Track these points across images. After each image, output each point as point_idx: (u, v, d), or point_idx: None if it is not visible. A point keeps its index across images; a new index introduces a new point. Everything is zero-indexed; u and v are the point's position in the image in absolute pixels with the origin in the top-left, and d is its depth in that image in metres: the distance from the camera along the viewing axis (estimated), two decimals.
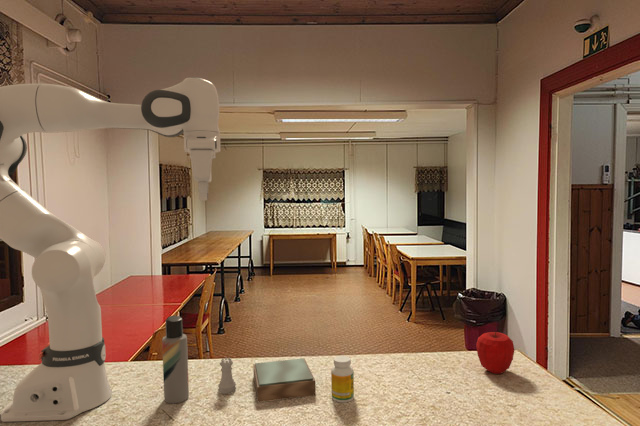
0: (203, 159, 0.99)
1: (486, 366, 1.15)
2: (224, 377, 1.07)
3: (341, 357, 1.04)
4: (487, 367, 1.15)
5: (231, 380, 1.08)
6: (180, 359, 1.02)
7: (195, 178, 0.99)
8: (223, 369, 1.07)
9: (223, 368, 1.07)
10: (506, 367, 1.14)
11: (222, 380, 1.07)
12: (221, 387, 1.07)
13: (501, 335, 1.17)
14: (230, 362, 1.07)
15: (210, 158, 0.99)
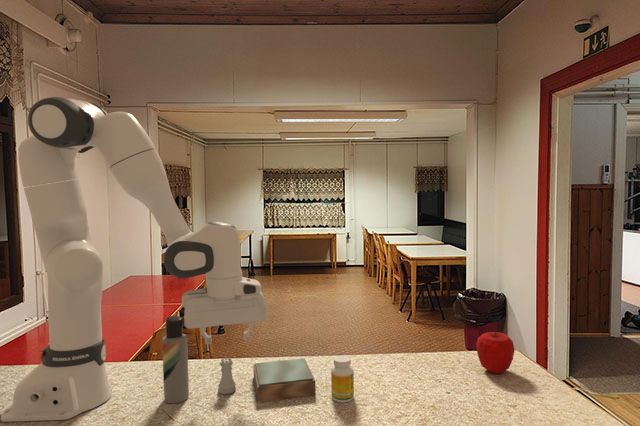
0: None
1: (486, 366, 1.15)
2: (224, 377, 1.07)
3: (341, 357, 1.04)
4: (487, 367, 1.15)
5: (231, 380, 1.08)
6: (180, 359, 1.02)
7: None
8: (223, 369, 1.07)
9: (223, 368, 1.07)
10: (506, 367, 1.14)
11: (222, 380, 1.07)
12: (221, 387, 1.07)
13: (501, 335, 1.17)
14: (230, 362, 1.07)
15: None
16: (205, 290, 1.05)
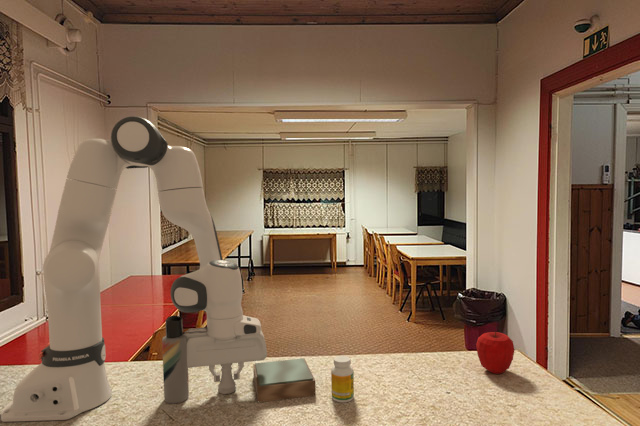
0: None
1: (486, 366, 1.15)
2: (224, 377, 1.07)
3: (341, 357, 1.04)
4: (487, 367, 1.15)
5: (231, 380, 1.08)
6: (180, 359, 1.02)
7: (265, 357, 1.09)
8: (223, 369, 1.07)
9: (223, 368, 1.07)
10: (506, 367, 1.14)
11: (222, 379, 1.07)
12: (221, 387, 1.07)
13: (501, 335, 1.17)
14: None
15: None
16: (206, 329, 1.06)
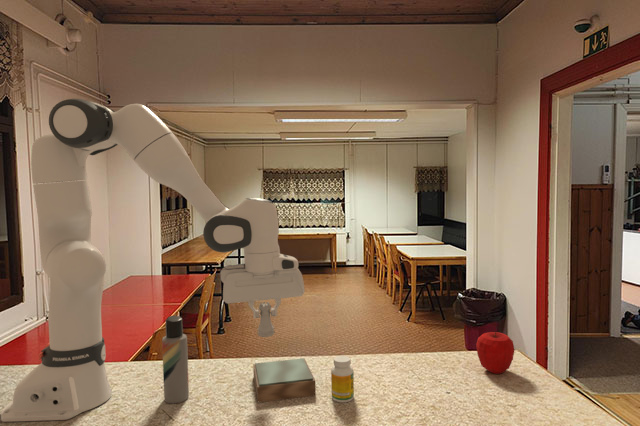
0: None
1: (486, 366, 1.15)
2: (263, 320, 1.08)
3: (341, 357, 1.04)
4: (487, 367, 1.15)
5: (270, 323, 1.09)
6: (180, 359, 1.02)
7: None
8: (262, 312, 1.08)
9: (262, 311, 1.08)
10: (506, 367, 1.14)
11: (261, 323, 1.08)
12: (261, 330, 1.08)
13: (501, 335, 1.17)
14: (269, 306, 1.09)
15: None
16: (243, 265, 1.06)
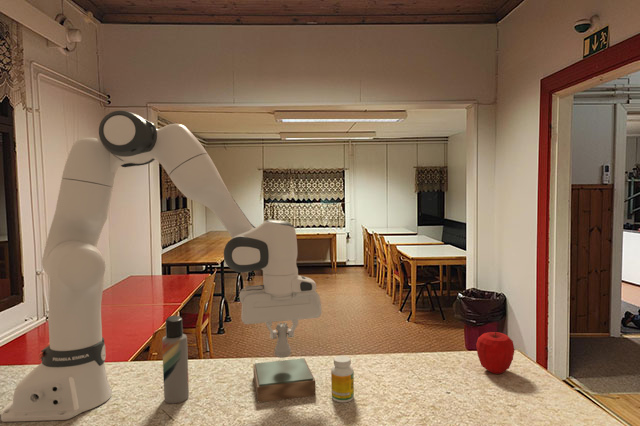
0: None
1: (486, 366, 1.15)
2: (280, 341, 1.09)
3: (341, 357, 1.04)
4: (487, 367, 1.15)
5: (287, 344, 1.10)
6: (180, 359, 1.02)
7: (319, 315, 1.10)
8: (279, 333, 1.10)
9: (279, 332, 1.10)
10: (506, 367, 1.14)
11: (278, 344, 1.10)
12: (278, 351, 1.09)
13: (501, 335, 1.17)
14: (286, 326, 1.10)
15: None
16: (262, 286, 1.08)
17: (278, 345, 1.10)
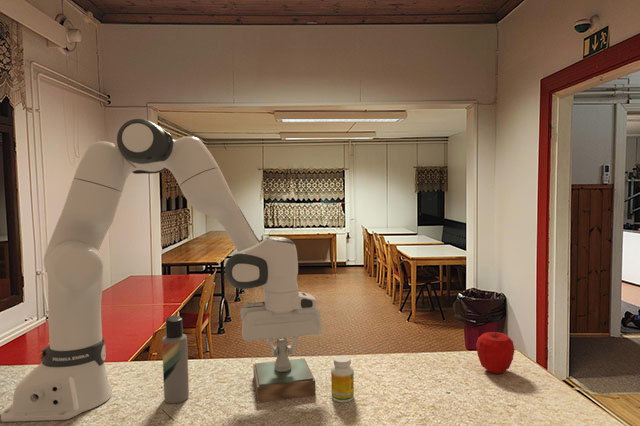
0: None
1: (486, 366, 1.15)
2: (280, 356, 1.10)
3: (341, 357, 1.04)
4: (487, 367, 1.15)
5: (287, 358, 1.10)
6: (180, 359, 1.02)
7: (320, 332, 1.10)
8: (279, 348, 1.10)
9: (279, 347, 1.10)
10: (506, 367, 1.14)
11: (278, 358, 1.10)
12: (278, 365, 1.09)
13: (501, 335, 1.17)
14: (285, 341, 1.10)
15: None
16: (263, 303, 1.08)
17: (278, 360, 1.10)
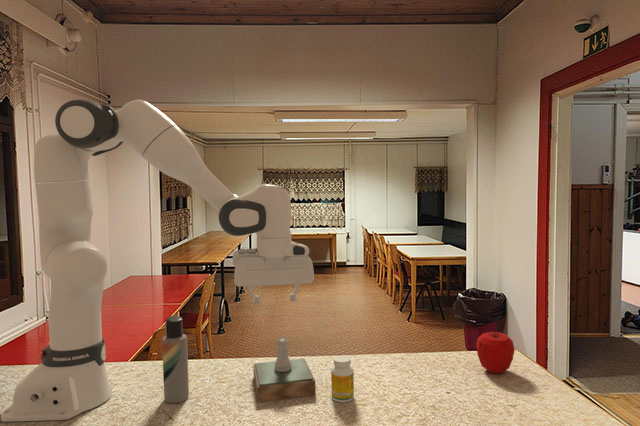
0: None
1: (486, 366, 1.15)
2: (280, 356, 1.10)
3: (341, 357, 1.04)
4: (487, 367, 1.15)
5: (287, 359, 1.10)
6: (180, 359, 1.02)
7: None
8: (280, 348, 1.10)
9: (280, 347, 1.10)
10: (506, 367, 1.14)
11: (279, 358, 1.10)
12: (278, 365, 1.09)
13: (501, 335, 1.17)
14: (286, 341, 1.10)
15: None
16: (255, 250, 1.08)
17: (278, 360, 1.10)
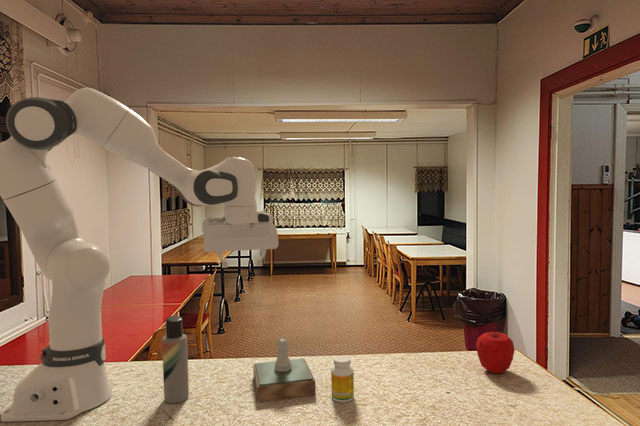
0: None
1: (486, 366, 1.15)
2: (280, 356, 1.10)
3: (341, 357, 1.04)
4: (487, 367, 1.15)
5: (287, 359, 1.10)
6: (180, 359, 1.02)
7: (277, 246, 1.20)
8: (280, 348, 1.10)
9: (280, 347, 1.10)
10: (506, 367, 1.14)
11: (279, 358, 1.10)
12: (278, 365, 1.09)
13: (501, 335, 1.16)
14: (286, 341, 1.10)
15: None
16: (223, 218, 1.17)
17: (278, 360, 1.10)
